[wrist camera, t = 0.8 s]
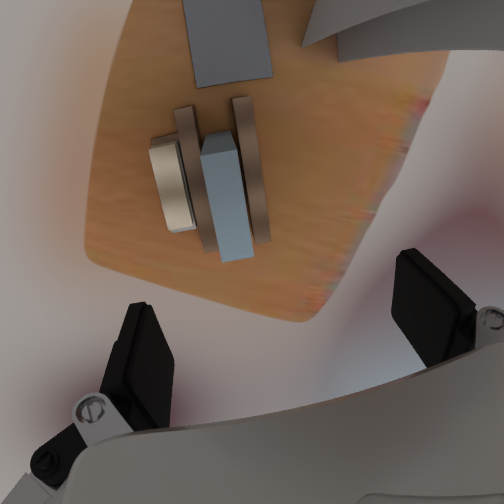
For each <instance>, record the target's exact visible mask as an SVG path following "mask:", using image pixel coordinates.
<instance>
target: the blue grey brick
mask: <svg viewBox="0 0 504 504" xmlns="http://www.w3.org/2000/svg"><path fill="white" fill-rule="evenodd" d="M200 158H201V163H202V168H203V173H204V178H205V183H206V188H207V193H208V198H209V203H210V208H211V213H212V218H213V223H214V227H215V232H216V237H217V241H218V246H219V251H220V255H221V260H222V262H227V261H233V260H238V259H244V258H250V257H254V253H253V246H252V240H251V234H250V228H249V221H248V215H247V209H246V203H245V196H244V190H243V184H242V178H241V171H240V165H239V159H238V153H237V148H236V145H235V143H234V140H233V137H232V135H231V132H230V131H224V132H218V133H212V134H207V135H206V136H205V140H204V143H203V147H202V151H201V155H200Z"/></svg>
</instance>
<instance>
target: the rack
mask: <svg viewBox="0 0 504 504" xmlns="http://www.w3.org/2000/svg"><path fill="white" fill-rule="evenodd" d="M231 101H232V107H233V113H234V120H235V126H236V132H237V139H238V145H239V151H240V157H241V164H242V170H243V176H244V183H245V189H246V195H247V202H248V208H249V214H250V221H251V227H252V233H253V236H254V240H255V244H260V243H266V242H271V236H270V229H269V221H268V213H267V206H266V198H265V191H264V183H263V176H262V169H261V162H260V154H259V147H258V140H257V133H256V127H255V120H254V113H253V106H252V100H251V96H244V97H237V98H231ZM174 114H175V120H176V125H177V130H178V135H179V140H180V145H181V150H182V155H183V160H184V164H185V169H186V174H187V179H188V183H189V188H190V192H191V197H192V201H193V206H194V210H195V215H196V219H197V223H198V228H199V232H200V236H201V240H202V245H203V249H204V253H210V252H215V251H219V246H218V241H217V237H216V232H215V227H214V223H213V218H212V213H211V208H210V203H209V198H208V193H207V188H206V183H205V178H204V173H203V168H202V163H201V158H200V155H201V151H202V145H201V140H200V135H199V129H198V124H197V118H196V113H195V107H194V105H192V106H187V107H182V108H178V109H175V110H174Z"/></svg>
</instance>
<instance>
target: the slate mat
mask: <svg viewBox="0 0 504 504" xmlns="http://www.w3.org/2000/svg"><path fill="white" fill-rule="evenodd" d="M183 4H184V11H185V17H186V24H187V30H188V37H189V43H190V49H191V55H192V61H193V67H194V73H195V79H196V85H197V88H202V87H208V86H213V85H219V84H225V83H231V82H238V81H245V80H253V79H261V78H270V77H273V72H272V65H271V59H270V52H269V46H268V39H267V33H266V27H265V21H264V15H263V9H262V4H261V0H183Z"/></svg>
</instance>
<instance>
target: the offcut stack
mask: <svg viewBox="0 0 504 504" xmlns="http://www.w3.org/2000/svg"><path fill="white" fill-rule="evenodd" d="M151 144H152V147H151V148H150V149H149V154H150V159H151V163H152V167H153V172H154V176H155V180H156V184H157V188H158V192H159V196H160V200H161V204H162V208H163V211H164V215H165V219H166V223H167V226H168V230H171V233H176V232H181V231H186V230H191V229H196V227H197V225H198V223H197V219H196V215H195V210H194V206H193V201H192V197H191V192H190V188H189V183H188V179H187V174H186V169H185V164H184V160H183V155H182V150H181V145H180V140H179V135H178V133H173V134H169V135H164V136H160V137H156V138H153V139H151Z"/></svg>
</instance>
